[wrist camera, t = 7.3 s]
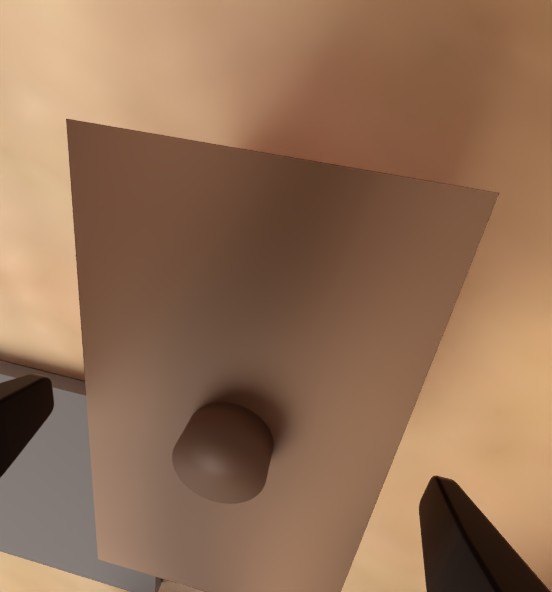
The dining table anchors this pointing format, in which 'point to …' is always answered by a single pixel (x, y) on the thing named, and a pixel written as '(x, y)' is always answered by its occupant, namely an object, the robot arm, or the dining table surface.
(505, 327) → the dining table surface
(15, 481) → the mat
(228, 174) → the lid
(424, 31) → the dining table surface
